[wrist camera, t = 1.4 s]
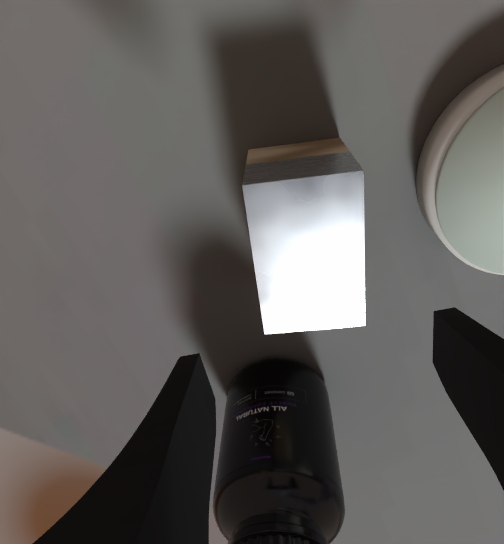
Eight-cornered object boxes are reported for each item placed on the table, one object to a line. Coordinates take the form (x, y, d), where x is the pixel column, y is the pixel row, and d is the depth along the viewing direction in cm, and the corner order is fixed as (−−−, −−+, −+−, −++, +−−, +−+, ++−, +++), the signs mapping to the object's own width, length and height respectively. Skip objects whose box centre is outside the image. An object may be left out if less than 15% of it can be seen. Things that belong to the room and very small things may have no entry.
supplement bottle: (265, 337, 27) (264, 531, 16) (348, 386, 28) (395, 589, 18) (207, 400, 29) (174, 601, 19) (285, 441, 31) (294, 645, 21)
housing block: (339, 137, 21) (363, 170, 15) (343, 263, 24) (364, 325, 19) (248, 149, 21) (242, 185, 16) (265, 271, 24) (264, 334, 19)
